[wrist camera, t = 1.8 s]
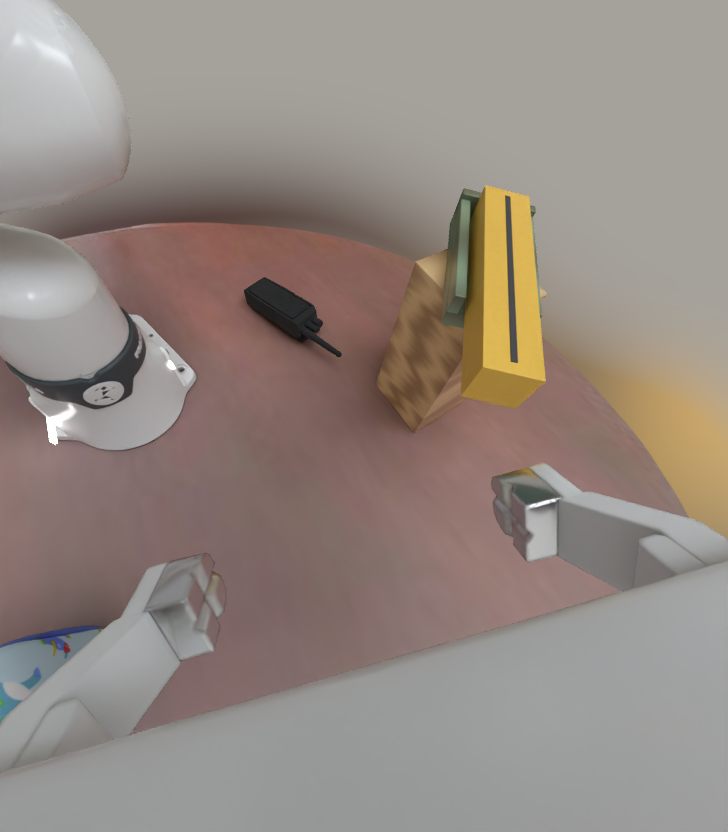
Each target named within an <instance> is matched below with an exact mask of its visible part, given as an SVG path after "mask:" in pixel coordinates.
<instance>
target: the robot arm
mask: <svg viewBox="0 0 728 832" xmlns="http://www.w3.org/2000/svg"><path fill="white" fill-rule="evenodd" d="M130 154H131V129H130V123H129V117H128V113H127V110H126V106H125V103H124V100H123V97H122V94H121V92H120V89H119V87H118V85H117V83H116V81H115V79H114V77H113V75H112V73H111V71H110V69H109V67H108V66H107V64H106V62H105V61H104V59H103V58H102V56H101V55H100V53H99V52H98V50H97V49H96V47H95V46H94V45H93V44H92V42H91V41H90V40H89V38H88V37H87V36H86V34H85V33H84V32H83V31H82V30H81V28H80V27H79V26H78V25H77V24H76V23H75V22H74V21H73V20H72V19H71V18H70V17H69V16H68V15H67V14H66V13H65V12H64V11H63V10H62V9H61V8H60V7H59V6H58V5H57V4H56V3H54V2H53V1H52V0H0V214H3V213H9V212H15V211H21V210H27V209H32V208H39V207H45V206H51V205H57V204H63V203H66V202H68V201H71V200H74V199H76V198H79V197H81V196H84V195H87V194H90V193H92V192H95V191H97V190H99V189H101V188H104V187H106V186H108V185H111V184H113V183H115V182H117V181H120V180H121V179H123V177H124V174H125V172H126V170H127V167H128V163H129V159H130ZM0 357H1V358H3V359H4V360H5V362H6V364H7V366H8V367H9V369H10V370H11V371H12V372H13V373H14V374H15V375H16V376H17V378H18V379H19V380H21V381H22V382H23V383H24V384H25V385H26V388H27V390H28V391H29V393H30V397H29V398H28V400H29V401H30V403H31V404H32V405H33V406H34V407H35V408H36V409H38V410H39V411H40V412H41V413H42V414H43V415H45V416H46V420H47V430H48V433H49V440H50V442H52V443H53V444H58V443H57V439H58V440H76V441H80V442H83V443H85V444H88V445H90V446H92V447H95V448H99V449H103V450H126V449H131V448H135V447H139V446H141V445H144V444H146V443H149V442H151V441H153V440H154V439H156V438H158V437H159V436H161V435H162V434H163V433H164V432H166V431H167V430H168V429H169V428H170V427H171V426H172V425H173V423H174V422H175V421H176V420H177V418H178V416H179V415H180V413H181V410H182V408H183V404H184V400H185V396H186V393H187V392H188V390H189V389H190V388H191V386H192V385H193V384H194V382H195V380H196V374H195V372H194V371H193V370H192V369H191V367H190V366H189V365H188V364H187V363H186V362H185V361H184V360H183V359H182V358H181V357H180V356H179V355H178V354H177V353H176V352H175V351H174V350H173V349H172V348H171V347H170V346H169V345H168V344H167V343H166V342H165V341H164V339H163V338H162V337H161V336H160V335H159V334H158V333H157V332H156V331H155V330H154V329H153V328H152V327H151V326H150V325H149V324H148V323H147V322H146V321H145V320H144V319H143V318H142V317H141V316H139V315H130V314H128V313H127V312H126V311H125V310H124V309H123V308H121V307H120V306H118V304H117V303H116V301H115V299H114V298H113V296H112V295H111V293H110V292H109V290H108V288H107V287H106V285H105V284H104V282H103V281H102V279H101V277H100V276H99V274H98V273H97V271H96V269H95V268H94V266H93V265H92V264H91V262H90V261H89V260H88V259H86V258H85V257H84V256H83V255H82V254H81V253H79V252H78V251H76V250H75V249H74V248H72V247H70V246H69V245H67V244H66V243H64V242H62V241H61V240H59V239H57V238H55V237H53V236H50V235H48V234H45V233H42V232H38V231H34V230H30V229H26V228H21V227H17V226H12V225H7V224H3V223H0ZM181 370H184V371H183V372H180V371H181ZM491 486H492V490H493V491H494V492H495V494H496V497H495V499H494V501H493V509H494V514H495V517H496V520H497V522H498V524H499V526H500V528H501V529H502V530H503V532H504V533H505V534H506V535H509V536H511V537H513V544H514V546H515V548H516V549H517V550H518V551H519V553H520V554H521V555H522V557H523V558H524V559H525V561H526V562H527V563H528V562H532V561H536V560H540V559H544V558H548V557H552V556H556V555H558V557H560V558H562V559H563V560H565V561H567V562H569V563H571V564H573V565H575V566H577V567H578V568H580V569H582V570H584V571H586V572H588V573H590V574H591V575H593V576H595V577H597V578H599V579H601V580H603V581H605V582H606V583H608V584H610V585H612V586H614V587H616V588H618V589H619V590H621V591H622V592H618V593H615V594H611V595H608V596H604V597H601V598H598V599H594V600H591V601H587V602H584V603H580V604H577V605H574V606H570V607H567V608H563V609H560V610H556V611H553V612H550V613H546V614H543V615H539V616H536V617H532V618H529V619H526V620H522V621H519V622H515V623H512V624H508V625H505V626H501V627H498V628H495V629H491V630H488V631H484V632H481V633H477V634H474V635H470V636H467V637H464V638H460V639H457V640H453V641H450V642H446V643H443V644H439V645H436V646H433V647H429V648H426V649H422V650H419V651H415V652H412V653H408V654H405V655H402V656H398V657H395V658H391V659H388V660H384V661H381V662H378V663H374V664H371V665H367V666H364V667H360V668H357V669H354V670H350V671H347V672H343V673H340V674H336V675H333V676H330V677H326V678H323V679H319V680H316V681H312V682H309V683H306V684H302V685H299V686H295V687H292V688H288V689H285V690H282V691H278V692H275V693H271V694H268V695H264V696H261V697H258V698H254V699H251V700H247V701H244V702H240V703H237V704H233V705H230V706H227V707H223V708H220V709H216V710H213V711H209V712H206V713H203V714H199V715H196V716H192V717H189V718H185V719H182V720H179V721H175V722H172V723H168V724H165V725H161V726H158V727H155V728H151V729H148V730H144V731H141V732H137V733H134V734H130V733H131V732H132V731H133V729H134V728H135V726H136V725H137V724H138V722H139V721H140V719H141V718H142V717H143V715H144V714H145V712H146V711H147V710H148V708H149V707H150V705H151V704H152V703H153V701H154V700H155V699H156V697H157V696H158V694H159V693H160V692H161V690H162V689H163V687H164V686H165V685H166V683H167V682H168V680H169V679H170V678H171V676H172V675H173V673H174V672H175V671H176V669H177V668H178V666H179V665H180V664H181V663H180V661H183V660H187V659H190V658H193V657H196V656H199V655H203V654H206V653H209V652H212V651H214V650H215V646H216V642H217V638H218V634H219V630H220V625H219V623H218V621H217V619H218V618H219V617H220V616H221V614H222V613H223V612H224V610H225V605H226V588H225V584H224V581H223V579H222V576H221V575H220V574H218V573H216V572H214V571H213V568H214V565H215V562H214V560H213V559H212V557H211V555H210V554H208V553H202V554H198V555H194V556H190V557H186V558H182V559H178V560H173V561H170V562H166V563H162V564H158V565H154V566H151V567H150V568H148V569H147V570H146V572H145V574H144V576H143V577H142V579H141V581H140V583H139V585H138V586H137V588H136V590H135V592H134V594H133V596H132V597H131V599H130V601H129V603H128V605H127V606H126V608H125V610H124V612H123V614H122V616H121V617H120V619H117V620H113V621H112V622H111V623H110V624H109V625H108V626H107V627H106V628H104V629H103V630H102V631H101V632H100V633H99V634H98V635H96V636H95V637H94V638H93V639H92V640H91V641H90V642H89V643H87V644H86V645H85V646H84V647H83V648H82V649H81V650H79V651H78V652H77V653H76V654H75V655H74V656H73V657H72V658H70V659H69V660H68V661H67V662H66V663H65V664H64V665H62V666H61V667H60V668H59V669H58V670H57V671H56V672H55V673H53V674H52V675H51V676H50V677H49V678H48V679H47V680H45V681H44V682H43V683H42V684H41V685H40V686H39V687H38V688H36V689H35V690H34V691H33V692H32V693H31V694H30V695H28V696H27V697H26V698H25V699H24V700H23V701H22V702H21V703H19V704H18V705H17V706H16V707H15V708H14V709H13V710H11V711H10V712H9V713H8V714H7V715H6V716H5V717H4V718H3V720H2V721H1V723H0V832H728V539H726V538H725V537H723V536H722V535H720V534H718V533H717V532H715V531H714V530H712V529H711V528H709V527H707V526H706V525H704V524H703V523H701V522H699V521H697V520H693V519H690V518H686V517H682V516H679V515H675V514H671V513H668V512H664V511H660V510H656V509H653V508H649V507H645V506H642V505H638V504H634V503H630V502H627V501H623V500H619V499H616V498H612V497H608V496H604V495H601V494H597V493H593V492H590V491H587V492H584V493H583V492H582V491H581V490H579V489H578V488H577V487H575V486H574V485H573V484H572V483H570V482H569V481H568V480H567V479H565V478H564V477H563V476H561V475H560V474H559V473H558V472H556V471H555V470H554V469H552V468H551V467H550V466H549V465H547V464H546V463H539V464H535V465H532V466H528V467H526V468H524V469H520V470H516V471H513V472H509V473H505V474H502V475H498V476H494V477H492V481H491Z"/></svg>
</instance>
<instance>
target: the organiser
mask: <svg viewBox="0 0 728 832" xmlns="http://www.w3.org/2000/svg"><path fill="white" fill-rule="evenodd" d="M481 194H482V193H480V192H476V191H473V190H469V189H463V192H462V194H461V197H460V199H459V202H458V205H457V207H456V210H455V212H454V215H453V218H452V220H451V223H450V230H449V242H448V249H446V250H444V251H441V252H439V253H436V254H434V255H431V256H428V257H426V258H423V259H421V260H419V261H416V262H415V265H414V268H413V271H412V274H411V277H410V280H409V283H408V286H407V289H406V293H405V296H404V299H403V302H402V305H401V308H400V311H399V314H398V317H397V320H396V323H395V326H394V329H393V333H392V336H391V339H390V342H389V345H388V348H387V351H386V354H385V357H384V360H383V363H382V366H381V369H380V373H379V376H378V379H377V382H376V385H377V387H378V388H379V389H380V391H381V392H382V393H383V394H384V396H385V397H386V398H387V399H388V401H389V402H390V403H391V405H392V406H393V407H394V408H395V410H396V411H397V412H398V413H399V415H400V416H401V417H402V418H403V420H404V421H405V422H406V424H407V425H408V426H409V427H410V429H411V430H412V431H413V432H414V433H415V432H417V431H418V430H420V429H422V428H423V427H425V426H426V425H428V424H429V423H431V422H433V421H434V420H436V419H437V418H439V417H441V416H442V415H444V414H445V413H447V412H449V411H450V410H452V409H453V408H455V407H456V406H458V405H460V404H461V403H462V402H463V400H464V399H465V398H466V397H462V396H461V378H462V357H463V336H464V314H465V299H466V291H467V269H468V247H469V225H470V219H471V217H472V215H473V212H474V210H475V208H476V205H477V203H478V201H479V198H480V196H481ZM530 210H531V222H532V233H533V244H534V255H535V267H536V278H537V289H538V300H539V312H540V318H541V317H542V309H541V301H542V300H543V299H544V298H545V296H546V295H547V293H546V292H545V291H543V289H541V288H540V287H539V276H538V265H537V256H536V244H535V233H534V222H533V216H534V214H535V213H536V211H535V206H531V205H530Z"/></svg>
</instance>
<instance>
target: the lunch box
mask: <svg viewBox="0 0 728 832" xmlns="http://www.w3.org/2000/svg"><path fill="white" fill-rule="evenodd" d="M102 630H103V629H102V628H101V627H99V626H80V627H72V628H66V629H61V630H56V631H50V632H46V633H41V634H36V635H31V636H27V637H24V638H20V639H17V640H14V641H11V642H8V643H6V644H3V645H1V646H0V723H1V721H2V720H3V718H4V717H5V716H6V715H7V714H8V713H9V712H10V711H11V710H13V709H14V708H15V707H16V706H17V705H18V704H19V703H21V702H22V701H23V700H24V699H25V698H26V697H27V696H28V695H30V694H31V693H32V692H33V691H34V690H35V689H36V688H38V687H39V686H40V685H41V684H42V683H43V682H44V681H45V680H47V679H48V678H49V677H50V676H51V675H52V674H53V673H55V672H56V671H57V670H58V669H59V668H60V667H61V666H62V665H64V664H65V663H66V662H67V661H68V660H69V659H70V658H72V657H73V656H74V655H75V654H76V653H77V652H78V651H79V650H81V649H82V648H83V647H84V646H85V645H86V644H87V643H89V642H90V641H91V640H92V639H93V638H94V637H95V636H96V635H98V634H99V633H100V632H101V631H102Z"/></svg>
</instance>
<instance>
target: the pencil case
mask: <svg viewBox="0 0 728 832" xmlns="http://www.w3.org/2000/svg"><path fill="white" fill-rule="evenodd" d="M545 381H546V379H545V368H544V357H543V346H542V335H541V323H540V312H539V300H538V289H537V278H536V267H535V255H534V244H533V233H532V222H531V210H530V199H529V196H525V195H521V194H517V193H513V192H509V191H505V190H502V189H498V188H494V187H490V186H485V187H484V189H483V192H482V194H481V196H480V198H479V201H478V203H477V205H476V208H475V210H474V212H473V215H472V217H471V219H470V225H469V247H468V269H467V291H466V299H465V314H464V336H463V357H462V378H461V396H462V397H466V398H470V399H475V400H479V401H484V402H488V403H492V404H497V405H501V406H506V407H510V408H515V409H516V408H517V407H518V406H519V405H520V404H521V403H523V402H524V401H525V400H526V399H527V398H528V397H529V396H530V395H531V394H532V393H534V392H535V391H536V390H537V389H538V388H539V387H540V386H541V385H542V384H543V383H544V382H545Z"/></svg>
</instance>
